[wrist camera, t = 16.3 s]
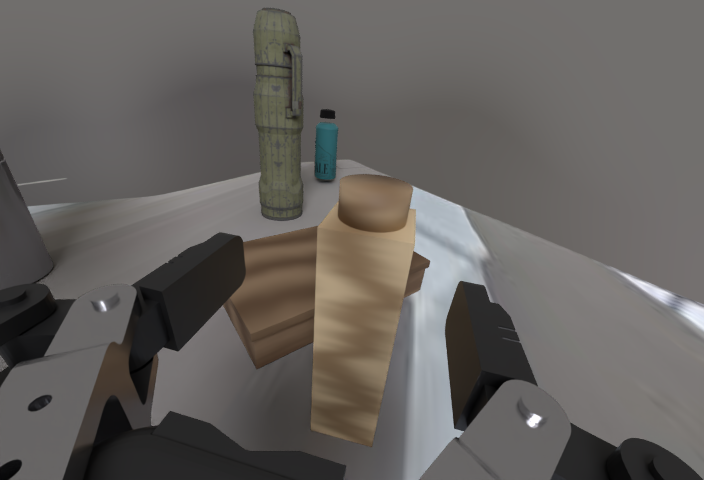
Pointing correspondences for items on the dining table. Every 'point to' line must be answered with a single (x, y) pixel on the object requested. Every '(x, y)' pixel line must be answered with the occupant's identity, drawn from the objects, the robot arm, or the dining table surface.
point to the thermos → (279, 113)
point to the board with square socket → (285, 294)
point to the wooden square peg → (359, 302)
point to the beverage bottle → (326, 147)
